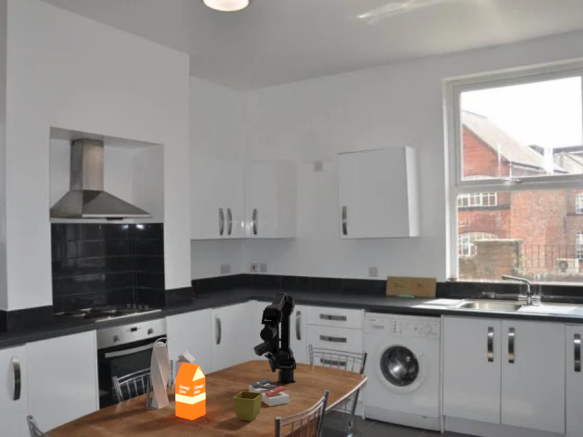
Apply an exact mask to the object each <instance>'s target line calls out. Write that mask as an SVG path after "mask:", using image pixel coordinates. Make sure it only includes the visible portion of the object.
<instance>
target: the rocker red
mask: <svg viewBox="0 0 583 437" xmlns="http://www.w3.org/2000/svg"><path fill="white" fill-rule="evenodd" d="M286 390H287V389H286V387H284V386H283V385H280V386H278V387H277V388H274V389H272V390H269V391H267V392H265V395H267V396H269V397H270V396H272V395H275V394H277V393H280V392H284V391H286Z"/></svg>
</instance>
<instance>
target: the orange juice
mask: <svg viewBox="0 0 583 437" xmlns="http://www.w3.org/2000/svg"><path fill="white" fill-rule="evenodd" d="M206 398H207V396H206V375H205V373H204V371H203V370H202V368H201V367H200V366H199V364H196V365H195V364H189V363H182V365H181V367H180V370H179V372H178V375H177V377H176V388H175V417H177V416H178V417H177V418H182V419H186V420H190V421H193V420H196V419H197V418H200V417H202V416H205V415H206Z"/></svg>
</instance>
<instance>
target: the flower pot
mask: <svg viewBox="0 0 583 437" xmlns="http://www.w3.org/2000/svg"><path fill="white" fill-rule="evenodd" d="M232 398H233V408H234V413H235V415H236V416H237V418H238V420H239V421H248V422H252V421H254V420H255V419H256V418H257V417H258V415H259V413H260V410H261V406H262V402H263V401H262V393H257V392H249V391H244V390H241V391H240V392H238V393H237V394H236V395H234V396H233V397H232Z"/></svg>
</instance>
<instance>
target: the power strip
mask: <svg viewBox="0 0 583 437" xmlns="http://www.w3.org/2000/svg"><path fill="white" fill-rule="evenodd" d="M265 385H271V384H270V383H268V384H265ZM269 390H272V389H261V388H260V387H257V388H254V387H253V386H252V384H251V385H248V392H257V393H262V401H261V402H263V403H264V404H266V405H268V406H269V407H273V406H279V405H280V406H281V405H284V404H290V394H288V393H285V392H284V391H282V392H280V393H277V394H275V395H272V396H270V397H269V396H267V395H265V392H267V391H269Z"/></svg>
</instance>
